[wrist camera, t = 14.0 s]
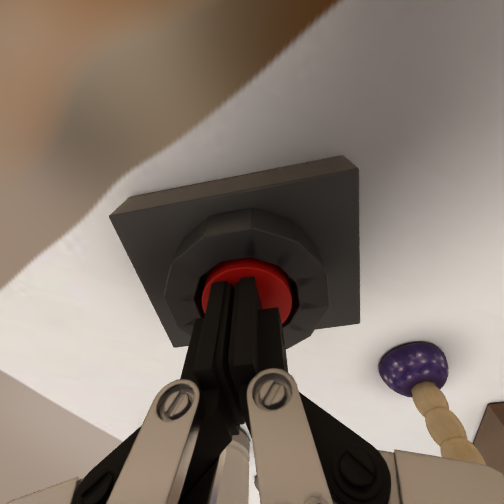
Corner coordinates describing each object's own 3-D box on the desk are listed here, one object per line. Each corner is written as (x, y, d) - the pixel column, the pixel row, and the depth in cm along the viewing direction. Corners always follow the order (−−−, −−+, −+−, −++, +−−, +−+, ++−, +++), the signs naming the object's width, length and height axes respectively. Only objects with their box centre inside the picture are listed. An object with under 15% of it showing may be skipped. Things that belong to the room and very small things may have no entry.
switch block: (343, 154, 12) (377, 183, 9) (348, 296, 16) (373, 353, 13) (128, 197, 13) (84, 236, 10) (182, 319, 17) (164, 377, 14)
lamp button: (281, 237, 12) (285, 260, 10) (292, 303, 14) (297, 331, 12) (197, 251, 12) (189, 276, 11) (219, 313, 14) (215, 341, 12)
